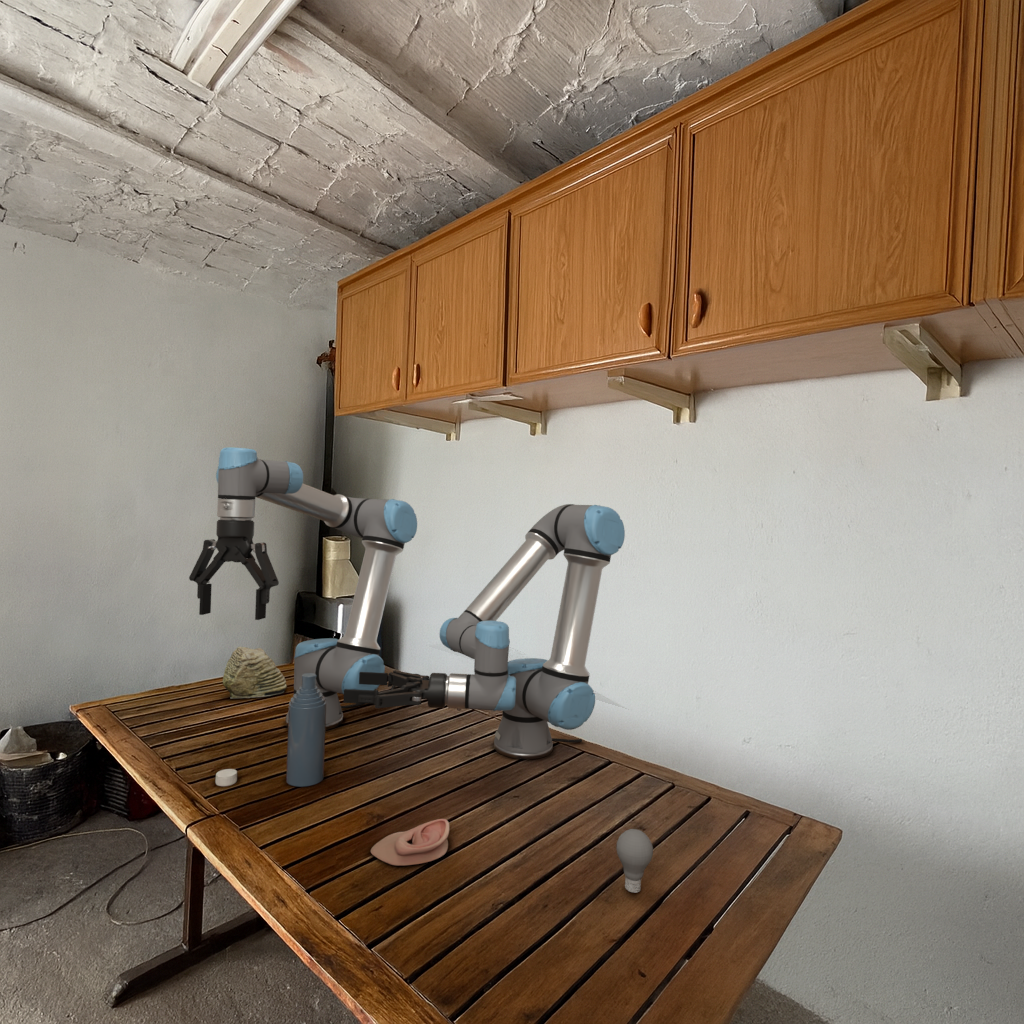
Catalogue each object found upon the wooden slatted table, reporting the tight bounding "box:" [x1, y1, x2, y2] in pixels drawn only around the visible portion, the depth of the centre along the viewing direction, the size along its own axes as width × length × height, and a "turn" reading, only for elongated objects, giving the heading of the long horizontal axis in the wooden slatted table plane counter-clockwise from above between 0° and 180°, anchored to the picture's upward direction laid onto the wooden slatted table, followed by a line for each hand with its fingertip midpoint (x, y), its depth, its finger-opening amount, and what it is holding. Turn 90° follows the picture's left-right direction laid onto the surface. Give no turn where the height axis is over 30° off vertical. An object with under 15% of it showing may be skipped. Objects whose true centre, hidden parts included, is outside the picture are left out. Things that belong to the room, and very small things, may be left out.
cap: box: [215, 768, 238, 787], centre depth 139 cm, size 4×4×2 cm
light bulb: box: [615, 828, 654, 894], centre depth 106 cm, size 6×6×10 cm
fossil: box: [222, 646, 288, 699], centre depth 198 cm, size 9×18×15 cm, turn 132°
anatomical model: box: [370, 818, 450, 867], centre depth 115 cm, size 13×4×12 cm
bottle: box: [285, 673, 326, 788], centre depth 142 cm, size 8×8×23 cm
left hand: (232, 616), depth 138 cm, fingers open, 13 cm apart
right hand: (351, 686), depth 142 cm, fingers open, 13 cm apart
